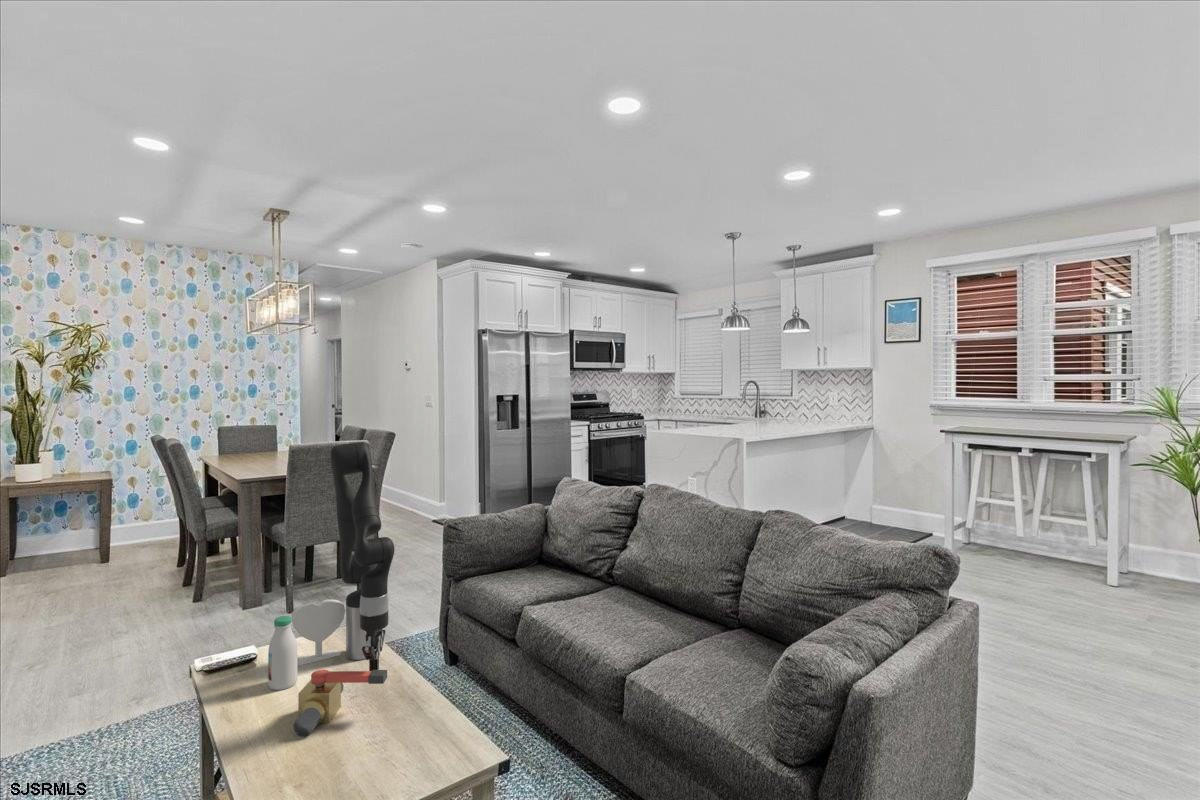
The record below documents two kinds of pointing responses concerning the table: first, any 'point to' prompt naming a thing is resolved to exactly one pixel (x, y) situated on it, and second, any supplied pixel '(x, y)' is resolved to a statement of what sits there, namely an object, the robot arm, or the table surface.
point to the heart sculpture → (318, 625)
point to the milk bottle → (282, 655)
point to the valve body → (317, 706)
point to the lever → (349, 677)
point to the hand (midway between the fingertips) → (374, 671)
